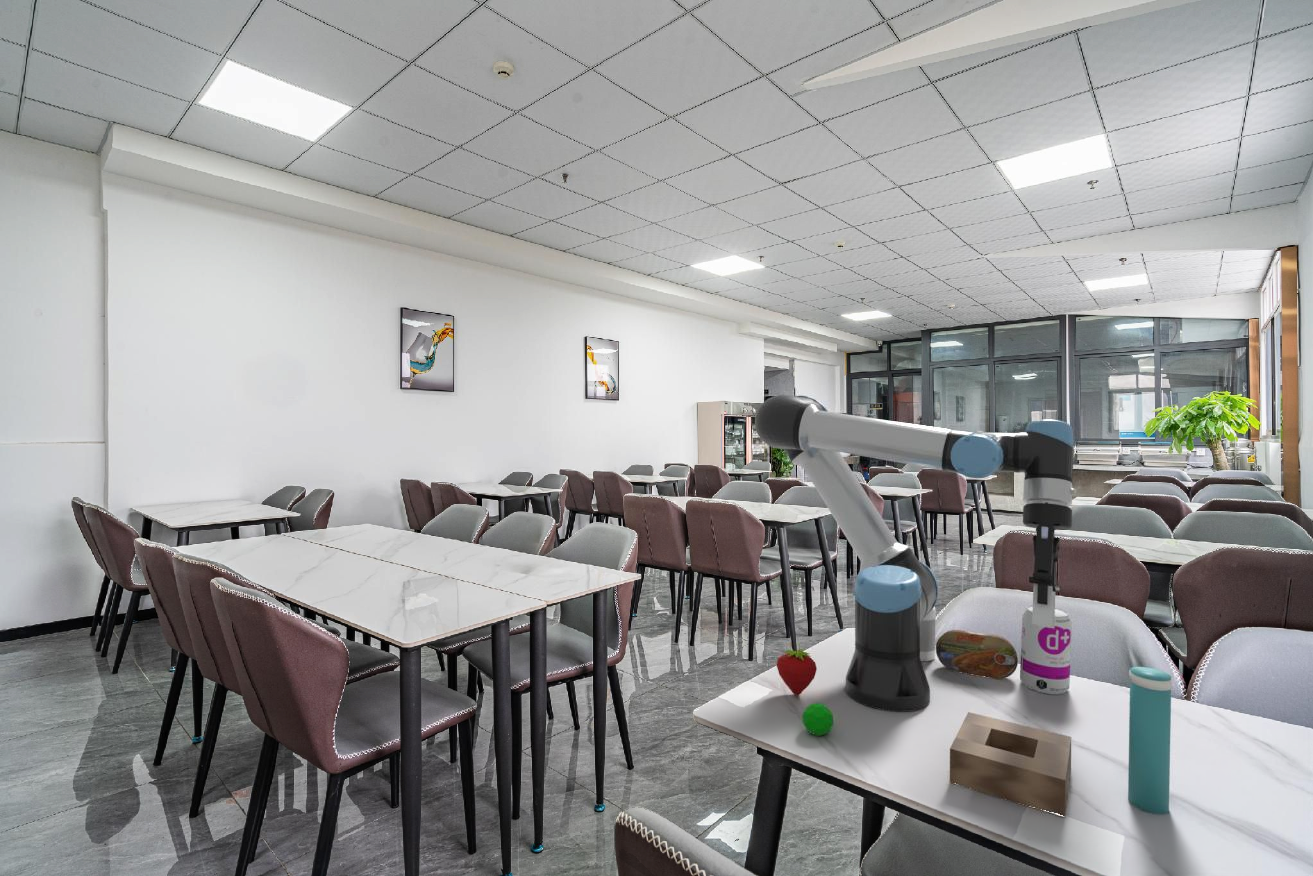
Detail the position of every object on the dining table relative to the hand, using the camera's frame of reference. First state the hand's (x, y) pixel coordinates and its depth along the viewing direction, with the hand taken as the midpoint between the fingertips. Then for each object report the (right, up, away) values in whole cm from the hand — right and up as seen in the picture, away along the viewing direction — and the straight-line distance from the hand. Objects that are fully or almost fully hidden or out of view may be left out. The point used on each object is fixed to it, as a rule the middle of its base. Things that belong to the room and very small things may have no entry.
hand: (1043, 626), depth 111 cm
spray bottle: (-9, -16, +30) cm, 35 cm away
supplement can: (+8, -16, +14) cm, 23 cm away
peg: (0, -17, -24) cm, 29 cm away
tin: (-1, -16, +21) cm, 26 cm away
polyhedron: (-40, -17, -4) cm, 44 cm away
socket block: (-15, -17, -17) cm, 28 cm away
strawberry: (-40, -16, +11) cm, 45 cm away
